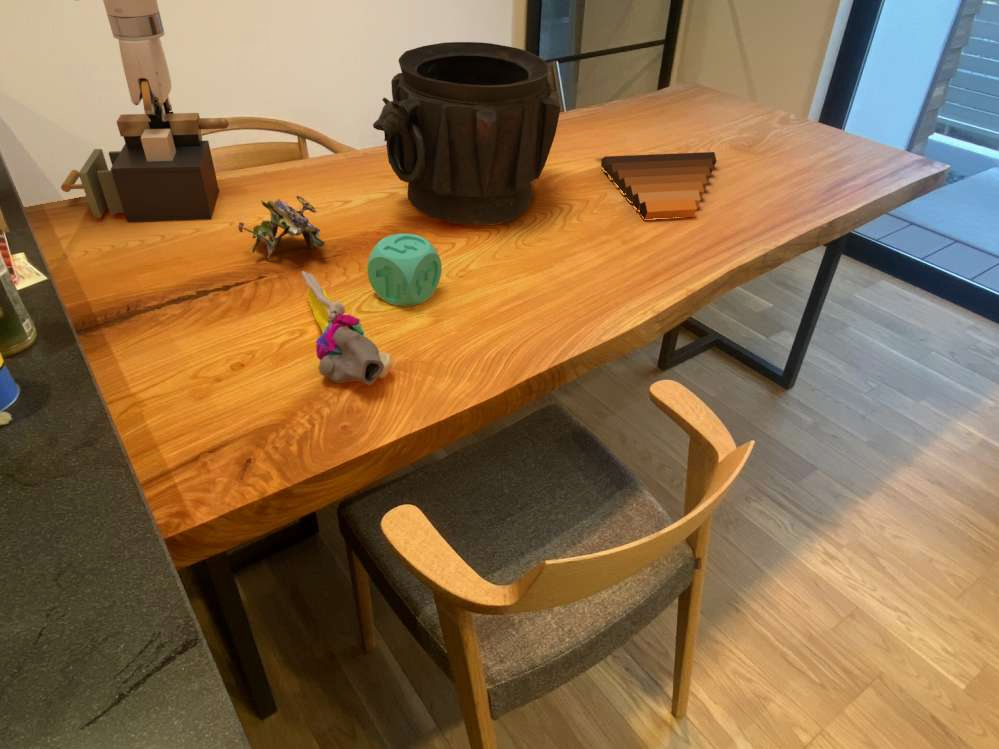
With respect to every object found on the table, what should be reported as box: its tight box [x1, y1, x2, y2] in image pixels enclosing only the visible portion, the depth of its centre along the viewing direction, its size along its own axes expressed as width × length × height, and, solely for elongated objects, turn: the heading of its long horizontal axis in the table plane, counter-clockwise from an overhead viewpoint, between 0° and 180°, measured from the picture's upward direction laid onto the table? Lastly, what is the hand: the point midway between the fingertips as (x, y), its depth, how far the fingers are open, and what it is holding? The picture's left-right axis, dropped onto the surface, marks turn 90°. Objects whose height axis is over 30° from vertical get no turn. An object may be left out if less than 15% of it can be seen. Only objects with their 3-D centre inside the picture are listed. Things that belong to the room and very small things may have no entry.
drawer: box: [60, 148, 125, 218], centre depth 119 cm, size 17×10×8 cm, turn 101°
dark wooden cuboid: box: [110, 140, 220, 223], centre depth 120 cm, size 14×12×10 cm
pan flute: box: [600, 151, 718, 219], centre depth 139 cm, size 25×3×25 cm
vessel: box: [372, 41, 561, 226], centre depth 124 cm, size 31×32×25 cm
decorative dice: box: [366, 233, 443, 307], centre depth 103 cm, size 8×8×8 cm
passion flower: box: [238, 195, 326, 262], centre depth 110 cm, size 11×11×12 cm
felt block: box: [141, 129, 176, 162], centre depth 115 cm, size 4×4×4 cm
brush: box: [116, 112, 230, 147], centre depth 120 cm, size 18×4×4 cm, turn 102°
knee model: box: [301, 270, 393, 386], centre depth 93 cm, size 9×8×25 cm
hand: (166, 138), depth 120 cm, fingers closed on brush, 3 cm apart
